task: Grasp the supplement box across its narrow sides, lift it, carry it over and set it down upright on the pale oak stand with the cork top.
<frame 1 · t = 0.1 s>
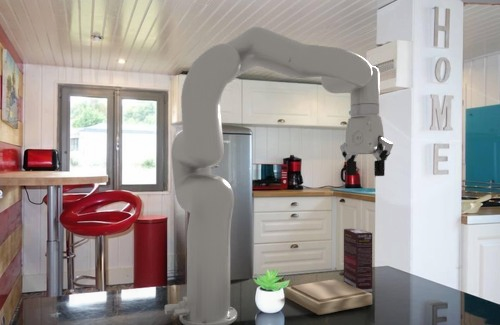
hand: (365, 175, 110), 31 cm above the counter, fingers open, 9 cm apart
oak stand: (327, 300, 102), on the counter
supplement box: (357, 288, 112), on the counter
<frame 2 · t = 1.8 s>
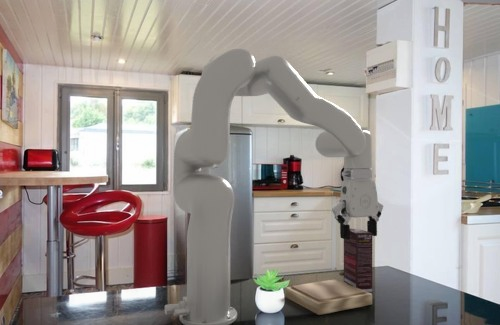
hand: (358, 237, 113), 14 cm above the counter, fingers open, 9 cm apart
nothing on the counter moved.
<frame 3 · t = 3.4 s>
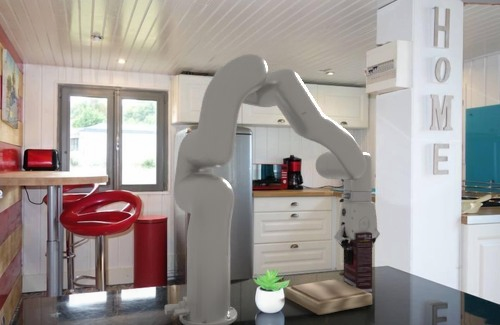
hand: (357, 262, 112), 7 cm above the counter, fingers closed on supplement box, 5 cm apart
supplement box: (357, 288, 112), on the counter, touching gripper
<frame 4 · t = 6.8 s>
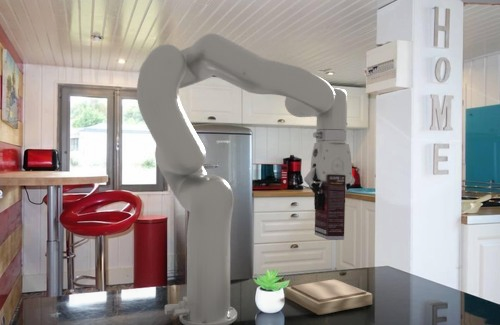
hand: (329, 208, 103), 23 cm above the counter, fingers closed on supplement box, 5 cm apart
supplement box: (329, 238, 103), point 15 cm above the counter, touching gripper
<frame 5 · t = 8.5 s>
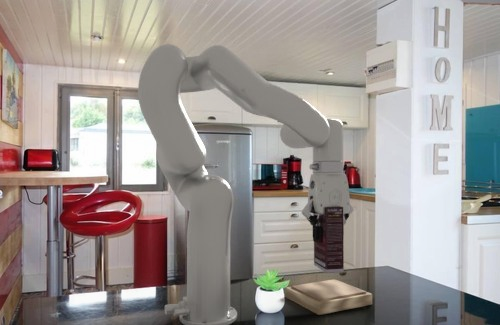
hand: (328, 240, 102), 15 cm above the counter, fingers closed on supplement box, 5 cm apart
supplement box: (328, 269, 102), point 8 cm above the counter, touching gripper
when the fingers open (12 cm above the counter, at t = 10.0 s): supplement box drops 1 cm, resting on oak stand.
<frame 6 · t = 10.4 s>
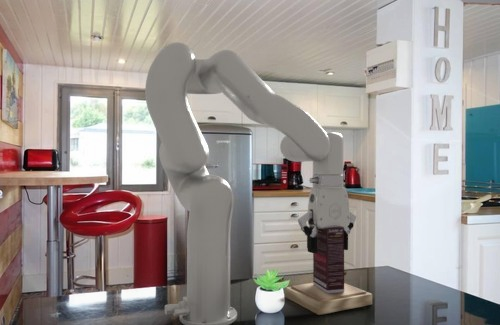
hand: (327, 250, 102), 12 cm above the counter, fingers open, 9 cm apart
supplement box: (328, 289, 102), point 3 cm above the counter, touching oak stand
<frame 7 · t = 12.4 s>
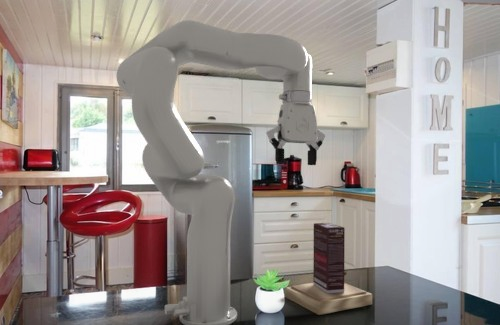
hand: (296, 164, 108), 34 cm above the counter, fingers open, 9 cm apart
nothing on the counter moved.
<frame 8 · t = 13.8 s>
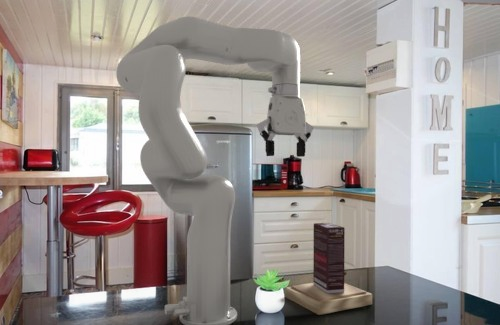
hand: (285, 156, 111), 36 cm above the counter, fingers open, 9 cm apart
nothing on the counter moved.
at the end: supplement box inside the target area on the oak stand (0.2 cm from its centre), point 2.8 cm above the oak stand's base; supplement box tilted 0°; supplement box touching oak stand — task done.
